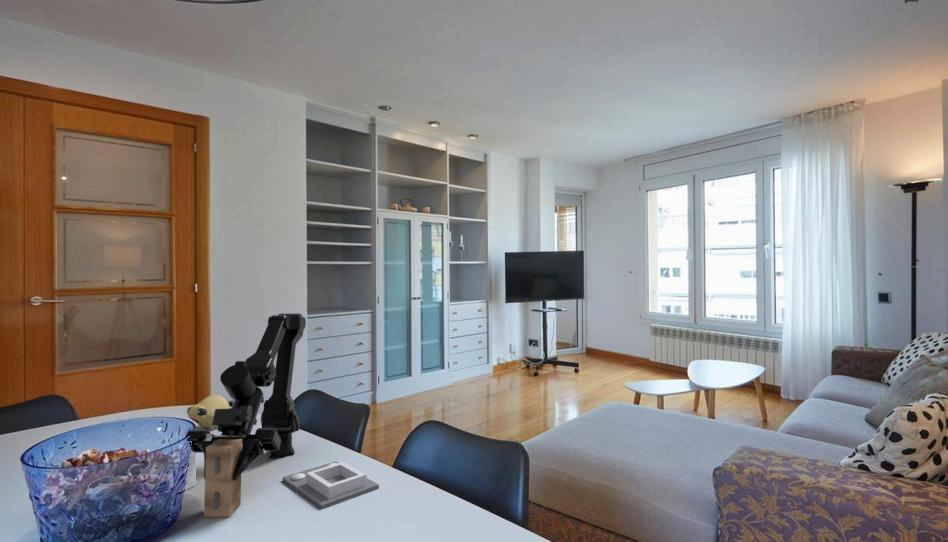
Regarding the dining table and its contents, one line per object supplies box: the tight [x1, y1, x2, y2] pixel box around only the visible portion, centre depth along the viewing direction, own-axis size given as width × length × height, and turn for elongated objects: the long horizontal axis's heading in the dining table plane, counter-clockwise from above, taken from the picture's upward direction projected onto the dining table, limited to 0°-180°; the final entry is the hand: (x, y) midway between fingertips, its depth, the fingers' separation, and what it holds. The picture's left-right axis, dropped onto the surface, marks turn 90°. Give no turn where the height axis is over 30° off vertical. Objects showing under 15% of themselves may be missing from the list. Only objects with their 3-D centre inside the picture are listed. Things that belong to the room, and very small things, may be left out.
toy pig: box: [186, 394, 231, 431], centre depth 152 cm, size 10×12×11 cm
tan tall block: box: [203, 439, 243, 518], centre depth 96 cm, size 6×5×14 cm
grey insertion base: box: [282, 461, 380, 510], centre depth 109 cm, size 20×14×3 cm
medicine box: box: [184, 451, 197, 492], centre depth 108 cm, size 8×4×9 cm, turn 74°
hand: (219, 479), depth 95 cm, fingers closed on tan tall block, 5 cm apart
